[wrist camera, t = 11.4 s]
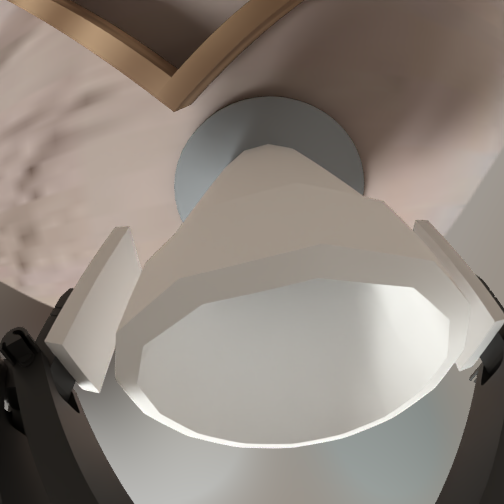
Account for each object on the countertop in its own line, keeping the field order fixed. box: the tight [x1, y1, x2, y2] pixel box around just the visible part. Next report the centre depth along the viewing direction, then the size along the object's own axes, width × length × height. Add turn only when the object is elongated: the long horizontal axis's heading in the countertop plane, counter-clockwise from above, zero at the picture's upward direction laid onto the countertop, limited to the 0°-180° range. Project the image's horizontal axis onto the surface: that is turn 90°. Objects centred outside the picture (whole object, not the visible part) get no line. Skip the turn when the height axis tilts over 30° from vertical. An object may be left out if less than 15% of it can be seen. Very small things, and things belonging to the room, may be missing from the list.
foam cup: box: [115, 144, 470, 448], centre depth 12 cm, size 10×9×13 cm
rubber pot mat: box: [174, 96, 364, 222], centre depth 18 cm, size 12×12×1 cm
